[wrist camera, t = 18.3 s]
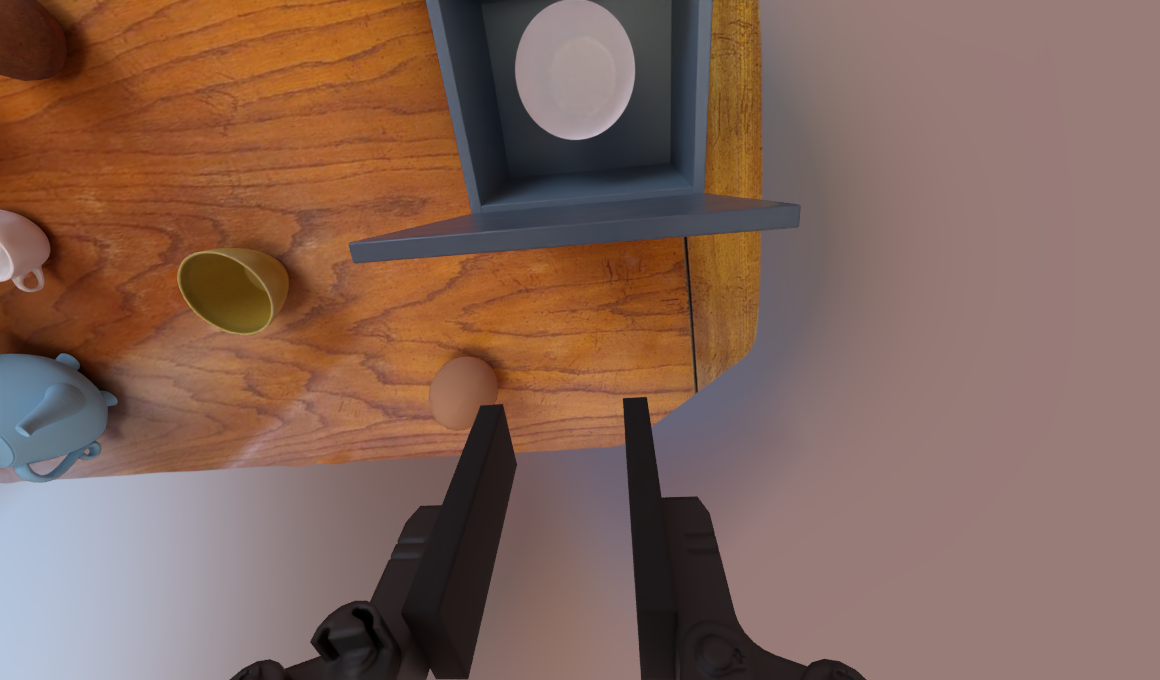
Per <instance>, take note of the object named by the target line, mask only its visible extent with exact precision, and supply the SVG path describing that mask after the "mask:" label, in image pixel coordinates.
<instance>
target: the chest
mask: <svg viewBox="0 0 1160 680" xmlns="http://www.w3.org/2000/svg"><path fill="white" fill-rule="evenodd" d="M559 1H563V0H426V4H427V9H428V13H429V18H430V23H431V27H432V32H433V37H434V41H435V46H436V50H437V55H438V60H439V64H440V69H441V73H442V78H443V83H444V87H445V92H446V96H447V101H448V106H449V110H450V115H451V120H452V124H453V129H454V133H455V138H456V143H457V147H458V152H459V156H460V161H461V166H462V170H463V175H464V179H465V184H466V189H467V193H468V198H469V203H470V207H471V212H472V214H477V213H488V212H500V211H511V210H522V209H533V208H545V207H556V206H567V205H578V204H590V203H601V202H612V201H624V200H635V199H646V198H657V197H669V196H680V195H691V194H702V193H704V188H705V165H706V142H707V119H708V96H709V73H710V51H711V28H712V5H713V0H587V1H591V2H593V3H596V4H598V5H600V6H602V7H603V8H605V9H606V10H608V11H609V12H610V13H611V14H612V15H613V16H614V17H615V18H616V19H617V20H618V21H619V22H620V24H621V25H622V27H623V28H624V30H625V32H626V34H627V36H628V38H629V40H630V43H631V46H632V50H633V54H634V61H635V80H634V87H633V91H632V94H631V97H630V100H629V102H628V105H627V106H626V108H625V110H624V112H623V113H622V115H621V116H620V117H619V118H618V120H617V121H616V122H615V123H614V124H613V125H612V126H610V127H609V128H608V129H607V130H605V131H604V132H602V133H600V134H598V135H596V136H594V137H591V138H587V139H581V140H570V139H564V138H560V137H557V136H555V135H553V134H550V133H549V132H547V131H545V130H544V129H543V128H541V127H540V126H539V125H538V124H537V123H536V122H535V121H534V120H533V119H532V117H531V116H530V115H529V113H528V112H527V110H526V109H525V107H524V105H523V103H522V101H521V98H520V95H519V92H518V88H517V84H516V77H515V62H516V54H517V50H518V46H519V43H520V40H521V38H522V35H523V33H524V31H525V30H526V28H527V26H528V25H529V23H530V22H531V21H532V20H533V18H534V17H535V16H536V15H537V14H538V13H540V12H541V11H542V10H543V9H545V8H546V7H548V6H550V5H552V4H554V3H556V2H559Z"/></svg>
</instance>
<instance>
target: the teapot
mask: <svg viewBox="0 0 1160 680" xmlns="http://www.w3.org/2000/svg"><path fill="white" fill-rule="evenodd" d="M79 368H80V364H79V362H78V361H77V360H76V359H75V358H74V357H73V356H71V355H68V354H64V353H62V354H59V356H58V357H57V358H56V359H55V360H54V359H51V358H47V357H43V356H37V355H29V354H11V353H8V354H0V468H5V467H13V466H15V471H16V473H17V474H18V475H19V476H20V477H21V478H22V479H24V480H27V481H30V482H47V481H51V480H54V479H56V478H58V477H60V476H61V475H62V474H64V473H65V472H66V471H67V470H68V469H69V468H70V467H71V466H72V465H73V464H74V463H75V461H76V460H77V459H78V458H79V459H82V460H90V459H93V458H95V457H97V456H98V455H99V454H100V452H101V445H100V444H99V443H98V442H96V441H94V440H96V439H98V438H99V437H100V436H101V435H102V433H103V432H104V430H105V428H106V425H107V420H108V406H113V405H116V404H117V403H118V401H117V399H116V397H115V396H114V395H113V394H111V393H109V392H107V391H99V390H98V388H97V387H96V386H95V385H94V384H93V383H92V382H91V381H90V380H88V379H87V378H86V377H85V376H83V375H82V374H81V373H79V372H78V371H76V370H78V369H79ZM87 448H89V451H90V452H89V454H88V455H86V454H85V453H84V451H85V450H86V449H87ZM68 453H69V454H68ZM65 454H68V455H67V457H66V458H65V459H64V460H63V461H62V462H61V463H60V464H59V466H58V467H56V468H55V469H54V470H53V471H52V472H50V473H49V474H47V475H39V474H37V473H35V472H34V471H33V470H32V469H31V468H30V466H29V464H30V463H35V462H40V461H45V460H49V459H53V458H56V457H59V456H62V455H65Z"/></svg>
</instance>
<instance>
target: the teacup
mask: <svg viewBox="0 0 1160 680" xmlns="http://www.w3.org/2000/svg"><path fill="white" fill-rule="evenodd" d="M49 254H50V243H49V241H48V238H47V236H46V235H45V233H44V232H43V231H42V230H41V229H40V228H39V227H38V226H37V225H36V224H34V223H33V222H32V221H30V220H29V219H27V218H25V217H23V216H21V215H19V214H16V213H13V212H9V211H5V210H0V282H1V281H6V280H9V279H12V280H13V282H14V284H15V285H16V286H17V287H18V288H19V289H21V290H23V291H26V292H35V291H39V290H41V289H42V288H43V287H44V283H45V280H44V275H43V272H42V268H41V266H42V264H43V263H44V262H45V261H46V260H47V259H48V257H49ZM30 271H32V272H33V273H34V274H35V275H36V277H37V279H38V286H37V287H36V288H33V289H30V288H27V287H25V286H24V284H23V280H24V278H25V276H26V275H27V274H28V273H29V272H30Z"/></svg>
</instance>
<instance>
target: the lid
mask: <svg viewBox="0 0 1160 680" xmlns="http://www.w3.org/2000/svg"><path fill="white" fill-rule="evenodd" d="M799 219H800V205H798V204H790V203H782V202H773V201H766V200H757V199H749V198H740V197H732V196H723V195H715V194H706V193H702V194H691V195H680V196H669V197H657V198H646V199H635V200H624V201H612V202H601V203H590V204H578V205H567V206H556V207H545V208H533V209H522V210H511V211H500V212H488V213H477V214H469V215H465V216H460V217H456V218H452V219H448V220H443V221H439V222H435V223H431V224H427V225H422V226H418V227H414V228H410V229H405V230H401V231H397V232H393V233H388V234H384V235H380V236H376V237H371V238H367V239H363V240H359V241H354V242H350V243H349V248H350V252H351V256H352V260H353V262H354V263H365V262H378V261H390V260H402V259H415V258H427V257H440V256H452V255H464V254H477V253H489V252H502V251H514V250H526V249H539V248H551V247H563V246H576V245H588V244H601V243H613V242H625V241H638V240H650V239H663V238H675V237H687V236H700V235H712V234H725V233H737V232H749V231H762V230H774V229H787V228H797V227H798V226H799Z"/></svg>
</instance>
